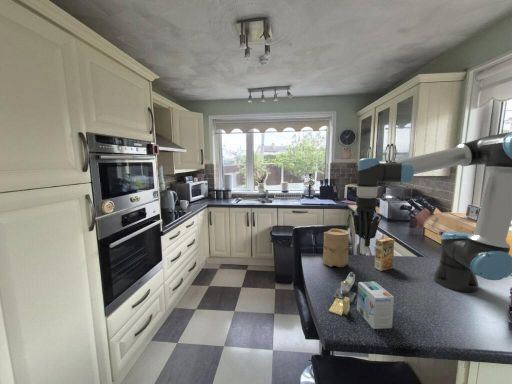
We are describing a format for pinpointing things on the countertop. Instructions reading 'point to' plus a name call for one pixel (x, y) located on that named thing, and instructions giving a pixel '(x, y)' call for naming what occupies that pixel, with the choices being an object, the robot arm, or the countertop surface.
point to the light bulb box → (375, 305)
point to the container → (336, 247)
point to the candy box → (384, 253)
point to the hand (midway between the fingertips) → (363, 253)
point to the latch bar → (347, 284)
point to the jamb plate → (340, 296)
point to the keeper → (340, 306)
